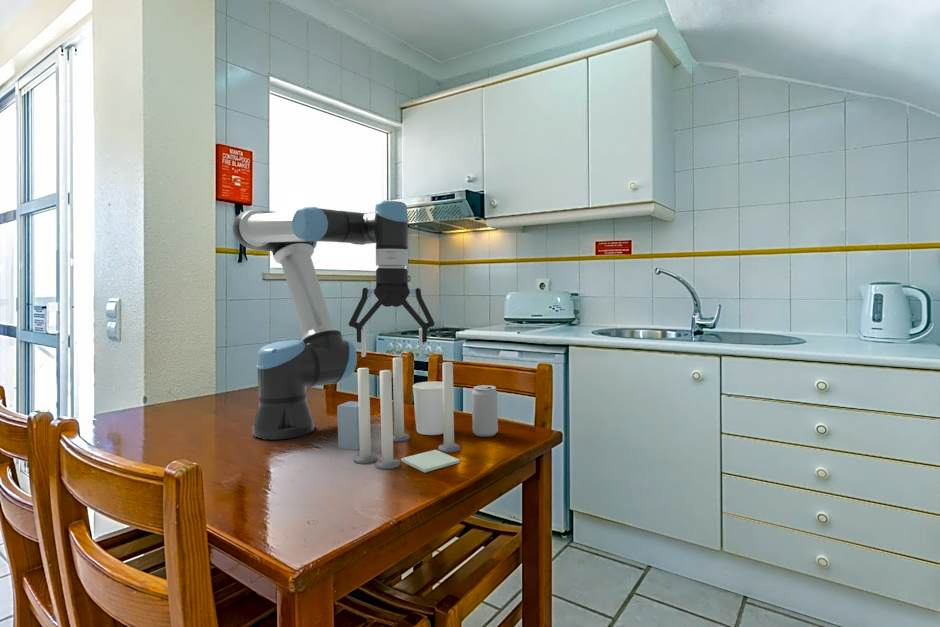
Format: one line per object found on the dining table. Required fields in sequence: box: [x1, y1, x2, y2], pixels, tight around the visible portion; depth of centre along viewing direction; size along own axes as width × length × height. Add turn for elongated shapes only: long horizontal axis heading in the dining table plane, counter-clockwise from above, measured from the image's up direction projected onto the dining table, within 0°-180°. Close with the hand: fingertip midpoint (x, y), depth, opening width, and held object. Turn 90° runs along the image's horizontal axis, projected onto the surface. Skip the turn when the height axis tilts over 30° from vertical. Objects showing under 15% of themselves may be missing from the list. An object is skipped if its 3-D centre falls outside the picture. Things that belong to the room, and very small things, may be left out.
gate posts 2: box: [375, 361, 461, 471], centre depth 114 cm, size 5×21×20 cm, turn 129°
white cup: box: [412, 380, 444, 436], centre depth 135 cm, size 10×10×12 cm
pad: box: [400, 449, 461, 473], centre depth 111 cm, size 9×9×1 cm
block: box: [336, 400, 360, 451], centre depth 123 cm, size 5×5×10 cm
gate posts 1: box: [353, 357, 411, 465], centre depth 120 cm, size 5×21×20 cm, turn 161°
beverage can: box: [471, 384, 499, 438], centre depth 131 cm, size 6×6×12 cm
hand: (392, 356), depth 125 cm, fingers open, 13 cm apart
